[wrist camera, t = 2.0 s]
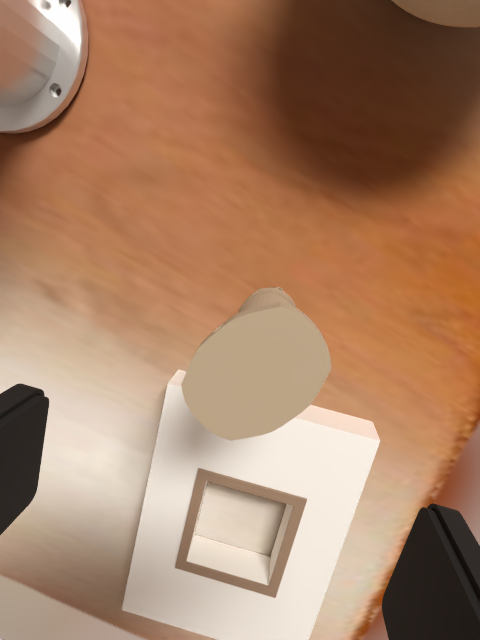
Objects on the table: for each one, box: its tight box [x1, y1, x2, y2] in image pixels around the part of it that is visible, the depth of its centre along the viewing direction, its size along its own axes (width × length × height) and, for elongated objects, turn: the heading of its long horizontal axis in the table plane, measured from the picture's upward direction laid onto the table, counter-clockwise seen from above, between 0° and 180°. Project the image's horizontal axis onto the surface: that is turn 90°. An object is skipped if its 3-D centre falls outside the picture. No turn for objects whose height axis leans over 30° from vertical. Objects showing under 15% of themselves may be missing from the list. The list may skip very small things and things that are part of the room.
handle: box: [181, 287, 331, 441], centre depth 24 cm, size 5×6×15 cm
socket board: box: [122, 369, 380, 640], centre depth 34 cm, size 22×16×3 cm
